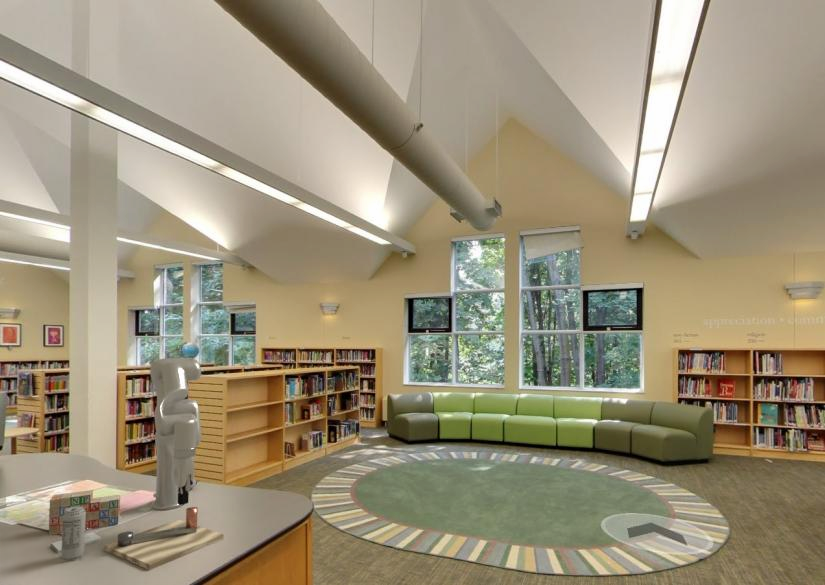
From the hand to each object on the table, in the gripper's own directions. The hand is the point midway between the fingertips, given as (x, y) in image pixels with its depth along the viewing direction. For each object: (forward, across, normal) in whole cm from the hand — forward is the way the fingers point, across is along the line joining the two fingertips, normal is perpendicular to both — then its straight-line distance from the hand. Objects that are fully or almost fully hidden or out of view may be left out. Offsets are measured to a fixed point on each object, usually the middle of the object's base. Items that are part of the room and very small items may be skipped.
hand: (182, 503), depth 184 cm
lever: (+6, +8, -11) cm, 15 cm away
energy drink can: (+8, +1, -34) cm, 35 cm away
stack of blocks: (+10, -25, -25) cm, 37 cm away
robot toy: (+11, -46, +15) cm, 50 cm away
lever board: (+8, +12, -9) cm, 17 cm away
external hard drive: (+9, -10, -31) cm, 34 cm away
